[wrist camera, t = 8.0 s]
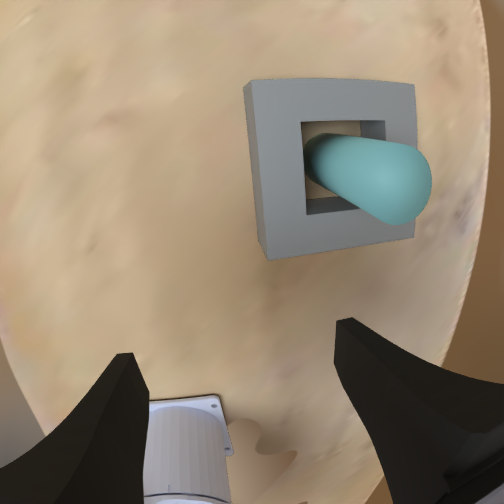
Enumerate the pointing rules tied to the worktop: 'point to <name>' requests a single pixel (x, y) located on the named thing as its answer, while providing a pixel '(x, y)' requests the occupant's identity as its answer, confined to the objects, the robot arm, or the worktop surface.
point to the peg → (371, 174)
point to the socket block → (292, 167)
